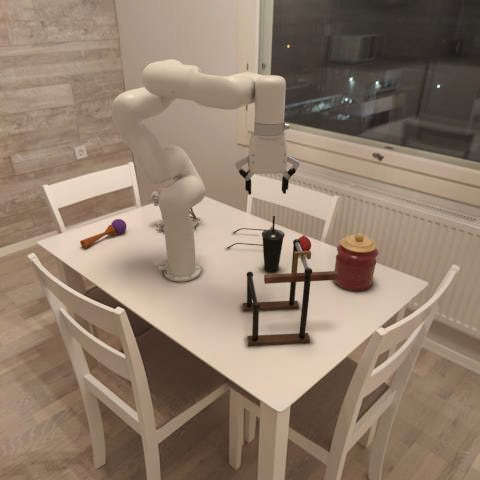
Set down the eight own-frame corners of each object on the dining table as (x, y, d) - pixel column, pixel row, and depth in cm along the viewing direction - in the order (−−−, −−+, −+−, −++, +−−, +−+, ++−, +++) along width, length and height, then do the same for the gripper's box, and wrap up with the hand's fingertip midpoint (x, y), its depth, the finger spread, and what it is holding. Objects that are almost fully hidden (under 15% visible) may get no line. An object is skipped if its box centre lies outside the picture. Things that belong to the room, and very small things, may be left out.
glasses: (270, 252, 166) (271, 240, 163) (227, 249, 168) (226, 237, 166) (274, 236, 178) (274, 224, 175) (233, 233, 180) (233, 221, 177)
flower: (165, 208, 197) (146, 165, 176) (214, 206, 194) (201, 162, 173) (157, 244, 187) (136, 203, 166) (209, 242, 183) (194, 201, 162)
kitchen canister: (347, 267, 157) (354, 221, 147) (379, 281, 149) (389, 233, 139) (325, 281, 149) (330, 233, 140) (358, 296, 141) (366, 247, 132)
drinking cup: (280, 275, 152) (284, 222, 141) (258, 273, 153) (260, 220, 142) (283, 264, 158) (286, 212, 147) (262, 262, 159) (264, 210, 149)
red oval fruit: (293, 250, 167) (294, 231, 163) (308, 250, 168) (310, 230, 163) (296, 258, 162) (297, 238, 158) (311, 257, 163) (313, 238, 158)
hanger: (264, 283, 121) (265, 255, 116) (264, 280, 122) (264, 252, 117) (337, 280, 122) (340, 251, 117) (335, 277, 123) (339, 248, 118)
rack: (248, 346, 121) (249, 273, 108) (242, 305, 137) (242, 238, 124) (309, 342, 122) (318, 270, 110) (296, 303, 138) (302, 236, 126)
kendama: (75, 236, 168) (117, 216, 180) (81, 250, 171) (122, 229, 183) (84, 238, 164) (126, 217, 176) (90, 252, 167) (131, 231, 179)
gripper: (299, 124, 118) (294, 187, 127) (234, 125, 117) (234, 188, 126) (305, 131, 112) (299, 196, 121) (236, 133, 110) (236, 198, 120)
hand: (266, 192), depth 123 cm, fingers open, 9 cm apart
